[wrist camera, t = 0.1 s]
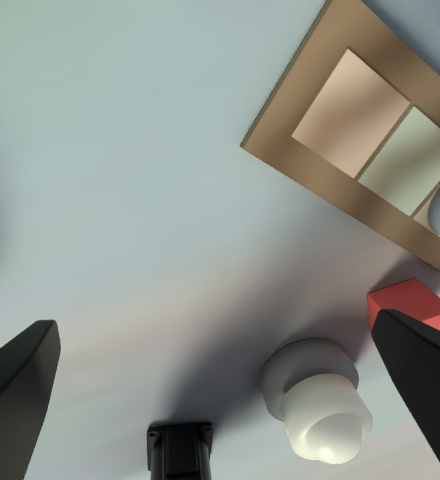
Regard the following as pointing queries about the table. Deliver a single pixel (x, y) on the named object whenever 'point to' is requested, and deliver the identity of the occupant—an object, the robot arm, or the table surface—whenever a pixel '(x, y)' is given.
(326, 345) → the dome base
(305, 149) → the game board
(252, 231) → the table surface
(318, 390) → the dome
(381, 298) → the red die
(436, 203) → the pawn
